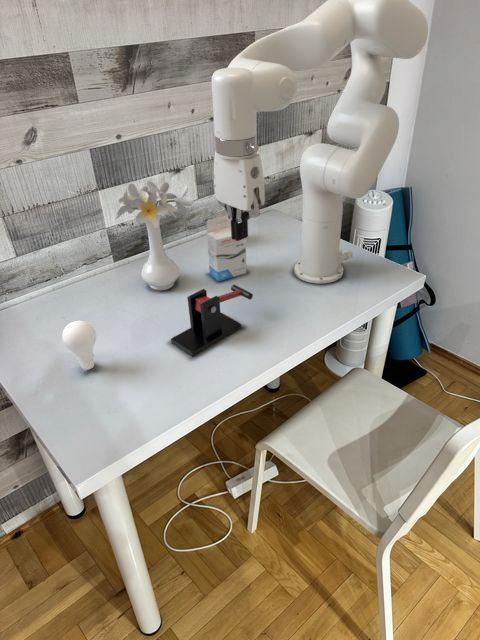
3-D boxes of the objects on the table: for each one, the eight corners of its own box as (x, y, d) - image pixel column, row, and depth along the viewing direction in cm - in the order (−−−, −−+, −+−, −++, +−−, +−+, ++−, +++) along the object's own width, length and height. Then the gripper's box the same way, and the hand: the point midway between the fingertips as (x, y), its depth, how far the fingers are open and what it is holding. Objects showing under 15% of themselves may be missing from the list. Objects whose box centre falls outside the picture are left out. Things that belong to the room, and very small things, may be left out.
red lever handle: (235, 291, 114) (235, 282, 113) (252, 300, 111) (253, 290, 110) (190, 306, 106) (190, 296, 104) (207, 316, 103) (207, 305, 101)
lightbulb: (75, 381, 98) (60, 336, 91) (71, 363, 102) (56, 318, 96) (106, 373, 100) (94, 328, 93) (101, 355, 104) (89, 311, 97)
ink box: (218, 282, 127) (214, 227, 118) (209, 274, 130) (204, 220, 121) (247, 273, 131) (245, 219, 122) (237, 265, 134) (235, 212, 125)
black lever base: (220, 316, 115) (217, 278, 109) (241, 328, 111) (239, 290, 105) (171, 343, 107) (165, 304, 101) (192, 357, 104) (187, 317, 98)
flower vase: (207, 277, 129) (199, 180, 114) (150, 307, 118) (132, 204, 103) (174, 261, 136) (161, 167, 121) (117, 288, 125) (95, 189, 110)
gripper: (280, 149, 91) (279, 243, 102) (223, 133, 99) (228, 222, 110) (250, 159, 86) (252, 255, 98) (193, 142, 95) (202, 233, 106)
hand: (239, 237), depth 104 cm, fingers closed
